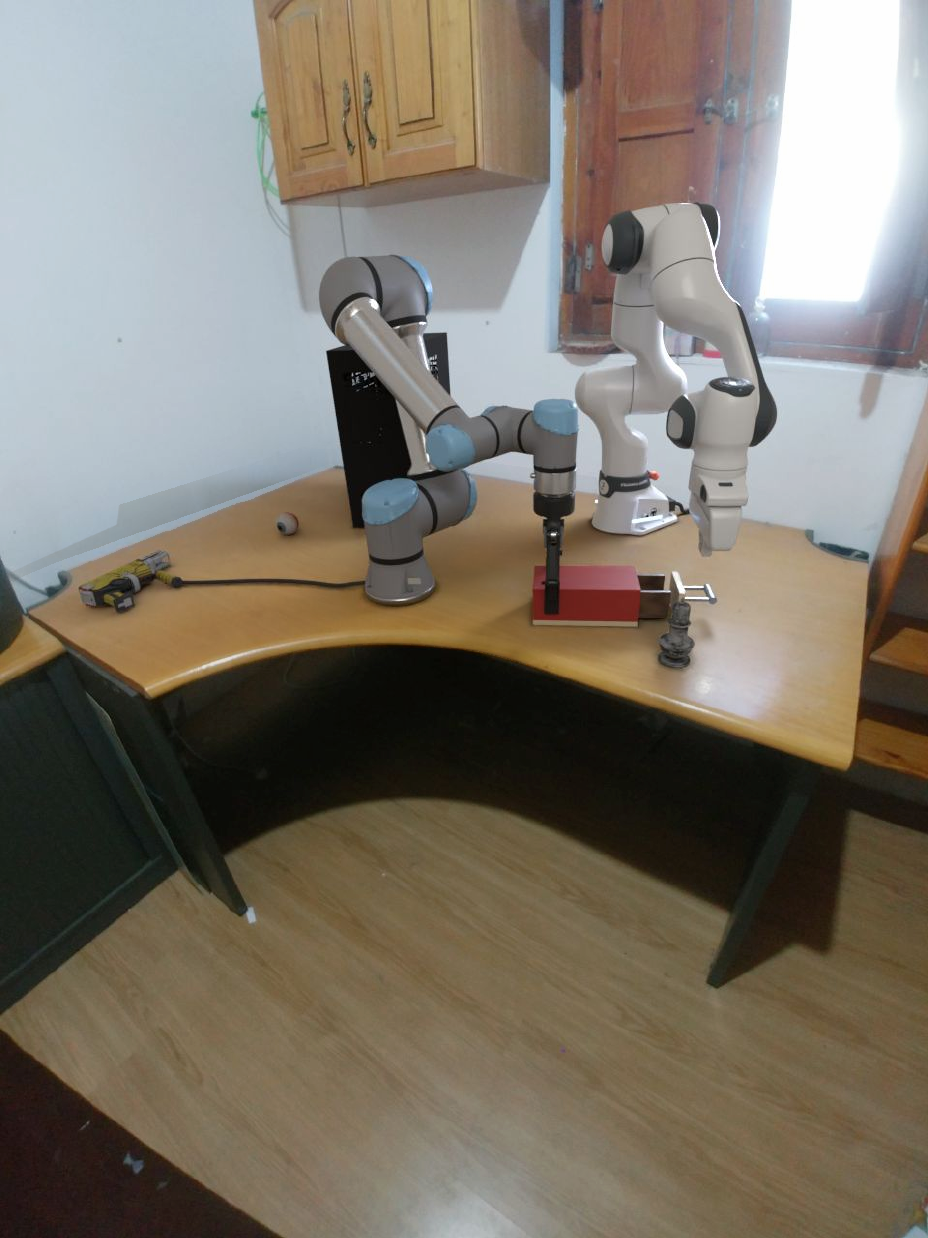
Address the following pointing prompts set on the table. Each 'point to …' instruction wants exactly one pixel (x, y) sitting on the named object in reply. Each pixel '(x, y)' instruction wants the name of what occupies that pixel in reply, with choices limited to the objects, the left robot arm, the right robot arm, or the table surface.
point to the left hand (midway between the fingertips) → (551, 599)
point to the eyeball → (287, 523)
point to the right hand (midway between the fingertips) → (704, 553)
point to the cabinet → (590, 596)
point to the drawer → (666, 594)
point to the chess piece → (677, 637)
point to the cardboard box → (373, 420)
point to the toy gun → (127, 582)
